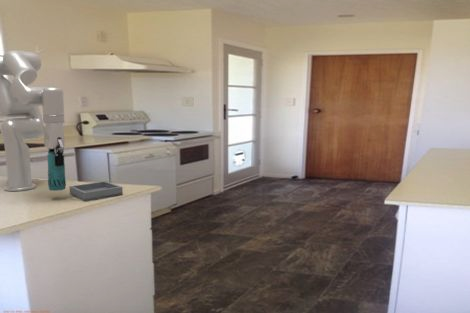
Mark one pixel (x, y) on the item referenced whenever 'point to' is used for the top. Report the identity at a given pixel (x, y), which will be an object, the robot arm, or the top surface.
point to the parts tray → (95, 191)
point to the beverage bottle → (55, 174)
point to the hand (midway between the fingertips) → (56, 163)
